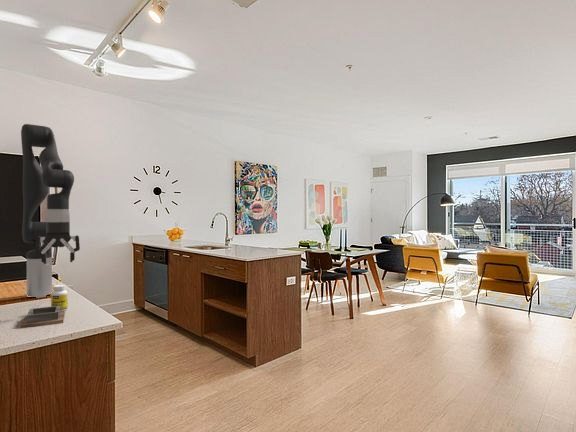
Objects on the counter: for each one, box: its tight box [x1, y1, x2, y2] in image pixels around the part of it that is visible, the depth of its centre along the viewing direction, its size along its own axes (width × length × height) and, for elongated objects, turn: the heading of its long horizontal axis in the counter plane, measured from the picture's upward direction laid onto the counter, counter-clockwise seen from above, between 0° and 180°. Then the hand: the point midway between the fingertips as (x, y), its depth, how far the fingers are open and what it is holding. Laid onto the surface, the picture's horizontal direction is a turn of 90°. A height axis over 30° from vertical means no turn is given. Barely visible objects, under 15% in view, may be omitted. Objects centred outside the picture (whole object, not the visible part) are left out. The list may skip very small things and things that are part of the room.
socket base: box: [19, 306, 66, 329], centre depth 124 cm, size 12×12×4 cm
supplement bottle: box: [50, 284, 69, 312], centre depth 135 cm, size 5×5×10 cm
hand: (58, 262), depth 134 cm, fingers open, 8 cm apart
